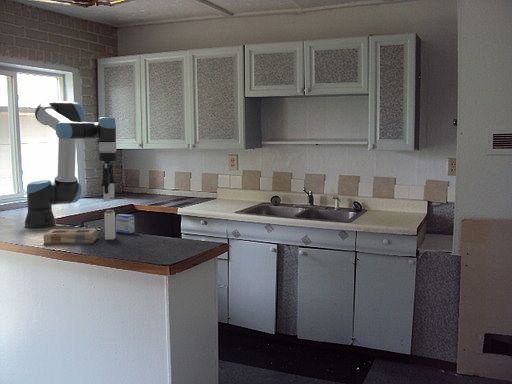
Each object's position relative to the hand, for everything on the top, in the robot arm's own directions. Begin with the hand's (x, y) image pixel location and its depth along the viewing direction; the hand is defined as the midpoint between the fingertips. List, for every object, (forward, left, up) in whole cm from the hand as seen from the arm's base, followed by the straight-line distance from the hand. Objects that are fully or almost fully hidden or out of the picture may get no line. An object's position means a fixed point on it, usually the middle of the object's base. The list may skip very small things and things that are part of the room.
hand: (109, 199), depth 239 cm
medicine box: (-15, +5, -18) cm, 24 cm away
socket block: (+5, -16, -18) cm, 25 cm away
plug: (0, 0, -18) cm, 18 cm away
